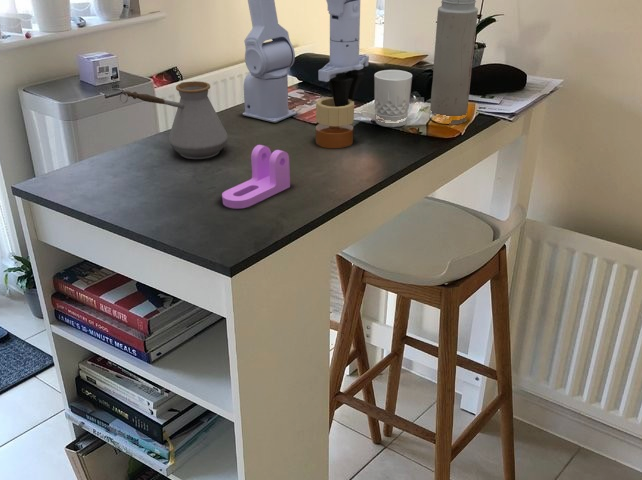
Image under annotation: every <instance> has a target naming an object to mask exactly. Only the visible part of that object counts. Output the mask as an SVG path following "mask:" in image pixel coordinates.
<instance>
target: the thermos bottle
mask: <svg viewBox="0 0 642 480" xmlns="http://www.w3.org/2000/svg"><path fill="white" fill-rule="evenodd" d="M440 3H441V6H439V7H437V16H436V27H435V40H434V41H435V43H434V53H433V54H434V55H433V67H432V68H433V69H432V71H433V72H432V85H431V92H430V94H431V95H430V104H429V105H430V107H429V111H430V110H431V111H432V112H433V113H436V114H440V115H446V116H462V115H466V113H467V114H468V108H469V99H470V88H471V80H472V69H473V61H474V52H475V41H476V33H477V32H476V31H477V24H478V23H477V22H478V13H479V9H478V7H476V3H477V0H441V1H440ZM467 119H468V115H467V116H466V117H465V118H463V119H460V120H452V121H451V123H449V126H453V125H454V126H455V125H461V124H463V123H466V121H467Z"/></svg>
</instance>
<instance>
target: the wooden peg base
mask: <svg viewBox="0 0 642 480" xmlns="http://www.w3.org/2000/svg"><path fill="white" fill-rule="evenodd" d="M330 107H339V106H330ZM353 143H354V125H352V124H349V125H347V126H339V127H336V126H326V125H322V124H319V123H317V125H316V126H315V144H316V145H317V146H319V147H322V148H326V149H343V148H347V147H350V146H351V145H353Z"/></svg>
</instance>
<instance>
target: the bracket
mask: <svg viewBox="0 0 642 480" xmlns="http://www.w3.org/2000/svg"><path fill="white" fill-rule="evenodd" d="M250 161H251V162H250V163H251V178H250V179H248V180H246V181H244V182H242V183H240V184H237V185H235V186H233V187H231V188H229V189H226V190H225V191H223V192H222V193H221V198H222V205H223V206H224V207H226V208H228V209H235V210H236V209H237V210H238V209H246V208H250V207H252V206H254V205H256V204H258V203H260V202H262V201H264V200H266V199H268V198H271V197H272V196H275V195H276V194H279V193H281V192H283V191H285V190H288V189H289V188H290V187H291V173H290V171H291V170H290V169H291V168H290V155H289V154H288V152H287V151H284V150H281V149H275V150H274V151H273V152H271V149H270V147H269V146H266V145H263V144H256V145H255V146H254V148H253V149H252V151H251V154H250Z"/></svg>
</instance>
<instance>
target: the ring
mask: <svg viewBox="0 0 642 480" xmlns="http://www.w3.org/2000/svg"><path fill="white" fill-rule="evenodd" d="M315 106H316V107H315V122H316V123H317V124H322V125H326V126H336V127H339V126H347V125H349V124H351V125H352V124H353V123H354V122H355V121H354V120H355V101H352V100H350V99H348V105H346V106H340V107H330V106H335V103H334V99H333V96H332V97H323V98H320V99H318V100H316V103H315Z"/></svg>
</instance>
